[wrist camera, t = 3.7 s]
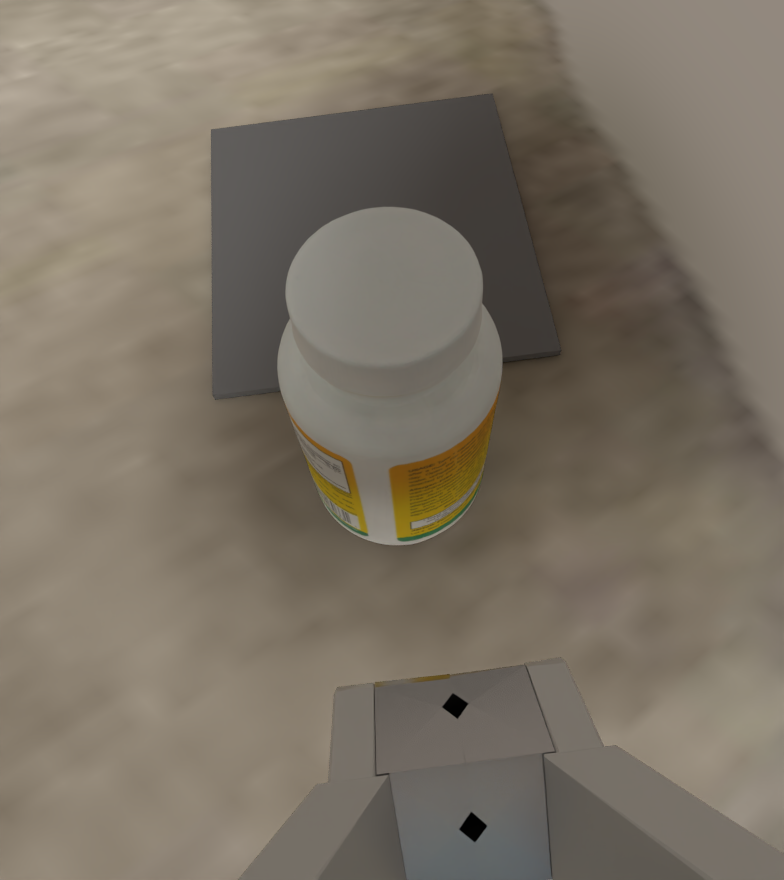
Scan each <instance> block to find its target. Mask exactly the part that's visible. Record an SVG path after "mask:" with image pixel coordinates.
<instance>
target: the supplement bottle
mask: <svg viewBox="0 0 784 880" xmlns="http://www.w3.org/2000/svg"><path fill="white" fill-rule="evenodd" d="M285 295H286V304H287V309H288V312H289V316H290V319H289V321H288V323H287V325H286V327H285V330H284V332H283V335H282V338H281V342H280V346H279V351H278V361H277V371H278V380H279V386H280V390H281V394H282V397H283V400H284V403H285V406H286V409H287V412H288V414H289V417H290V419H291V422H292V425H293V428H294V430H295V433H296V435H297V438H298V441H299V443H300V445H301V448H302V450H303V453H304V456H305V459H306V461H307V464H308V467H309V470H310V473H311V475H312V478H313V480H314V483H315V486H316V488H317V491H318V493H319V495H320V498H321V499H322V501H323V503H324V505H325V507H326V508H327V510H328V511H329V513H330V514H331V515H332V516H333V517H334V518H335V520H336V521H337V522H338V523H340V524H341V525H342V526H343V527H344V528H345V529H347V530H348V531H350V532H351V533H353V534H355V535H357V536H359V537H361V538H363V539H366V540H369V541H372V542H375V543H380V544H385V545H409V544H415V543H419V542H422V541H425V540H427V539H430V538H432V537H434V536H436V535H438V534H440V533H441V532H443V531H445V530H447V529H448V528H449V527H451V526H452V525H453V524H455V523H456V522H457V521H458V520H459V519H460V518H461V517H462V516H463V515H464V514H465V513H466V511H467V510H468V509H469V507H470V506H471V504H472V503H473V501H474V499H475V497H476V495H477V492H478V490H479V487H480V484H481V479H482V476H483V471H484V465H485V460H486V455H487V449H488V444H489V439H490V433H491V429H492V424H493V418H494V413H495V408H496V404H497V399H498V394H499V389H500V384H501V377H502V364H503V361H502V348H501V342H500V338H499V335H498V332H497V329H496V326H495V324H494V322H493V320H492V318H491V316H490V314H489V312H488V311H487V309H486V308H485V306H484V305H483V304H482V297H483V276H482V271H481V268H480V265H479V262H478V259H477V257H476V255H475V253H474V251H473V249H472V247H471V246H470V244H469V243H468V242H467V240H466V239H465V238H464V237H463V236H462V235H461V234H460V233H459V232H458V231H457V230H455V229H454V228H453V227H452V226H450V225H449V224H447V223H446V222H444V221H442V220H441V219H439V218H437V217H435V216H432V215H430V214H427V213H425V212H421V211H418V210H414V209H409V208H401V207H376V208H368V209H363V210H359V211H355V212H352V213H349V214H347V215H344V216H342V217H339V218H337V219H335V220H333V221H331V222H329V223H328V224H326V225H324V226H323V227H321V228H320V229H319V230H317V231H316V232H315V233H314V234H313V235H312V236H310V237H309V238H308V239H307V241H306V242H305V243H304V244H303V245H302V247H301V248H300V249H299V251H298V253H297V254H296V256H295V258H294V260H293V261H292V263H291V266H290V268H289V271H288V276H287V280H286V290H285Z"/></svg>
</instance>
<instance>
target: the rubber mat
mask: <svg viewBox="0 0 784 880" xmlns="http://www.w3.org/2000/svg"><path fill="white" fill-rule="evenodd" d="M211 206H212V377H213V397H214V399H215V400H216V399H223V398H231V397H239V396H247V395H254V394H262V393H270V392H277V391H281V390H280V386H279V380H278V371H277V361H278V351H279V346H280V342H281V338H282V335H283V332H284V330H285V327H286V325H287V323H288V321H289V319H290V316H289V312H288V309H287V304H286V295H285V290H286V280H287V276H288V271H289V268H290V266H291V263H292V261H293V260H294V258H295V256H296V254H297V253H298V251H299V249H300V248H301V247H302V245H303V244H304V243H305V242H306V241H307V239H308V238H309V237H310V236H312V235H313V234H314V233H315V232H316V231H317V230H319V229H320V228H321V227H323V226H324V225H326V224H328V223H329V222H331V221H333V220H335V219H337V218H339V217H342V216H344V215H347V214H349V213H352V212H355V211H359V210H363V209H368V208H376V207H401V208H409V209H414V210H418V211H421V212H425V213H427V214H430V215H432V216H435V217H437V218H439V219H441V220H442V221H444V222H446V223H447V224H449V225H450V226H452V227H453V228H454V229H455V230H457V231H458V232H459V233H460V234H461V235H462V236H463V237H464V238H465V239H466V240H467V242H468V243H469V244H470V246H471V247H472V249H473V251H474V253H475V255H476V257H477V259H478V262H479V265H480V268H481V271H482V276H483V297H482V304H483V305H484V306H485V308H486V309H487V311H488V312H489V314H490V316H491V318H492V320H493V322H494V324H495V326H496V329H497V332H498V335H499V338H500V342H501V348H502V361H503V362H508V361H516V360H524V359H531V358H539V357H547V356H555V355H560V352H561V347H560V344H559V340H558V336H557V332H556V329H555V325H554V321H553V318H552V314H551V310H550V306H549V303H548V299H547V295H546V291H545V288H544V284H543V280H542V277H541V273H540V269H539V265H538V262H537V258H536V254H535V250H534V247H533V243H532V239H531V236H530V232H529V228H528V224H527V221H526V217H525V213H524V209H523V206H522V202H521V198H520V195H519V191H518V187H517V183H516V180H515V176H514V172H513V168H512V165H511V161H510V157H509V154H508V150H507V146H506V142H505V139H504V135H503V131H502V127H501V124H500V120H499V116H498V113H497V109H496V105H495V101H494V98H493V94H484V95H477V96H469V97H461V98H453V99H445V100H438V101H430V102H422V103H414V104H406V105H399V106H391V107H383V108H375V109H368V110H360V111H352V112H344V113H336V114H329V115H321V116H313V117H305V118H297V119H290V120H282V121H274V122H266V123H259V124H251V125H243V126H235V127H227V128H220V129H212V130H211Z"/></svg>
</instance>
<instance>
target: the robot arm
mask: <svg viewBox="0 0 784 880" xmlns="http://www.w3.org/2000/svg"><path fill="white" fill-rule="evenodd" d="M552 879H553V880H784V854H783V853H782V852H780V851H779V850H777V849H776V848H774V847H773V846H771V845H769V844H768V843H766V842H765V841H763V840H762V839H760V838H759V837H757V836H756V835H754V834H752V833H751V832H749V831H748V830H746V829H745V828H743V827H742V826H740V825H739V824H737V823H735V822H734V821H732V820H731V819H729V818H728V817H726V816H725V815H723V814H722V813H720V812H719V811H717V810H715V809H714V808H712V807H711V806H709V805H708V804H706V803H705V802H703V801H702V800H700V799H698V798H697V797H695V796H694V795H692V794H691V793H689V792H688V791H686V790H685V789H683V788H681V787H680V786H678V785H677V784H675V783H674V782H672V781H671V780H669V779H668V778H666V777H664V776H663V775H661V774H660V773H658V772H657V771H655V770H654V769H652V768H651V767H649V766H647V765H646V764H644V763H643V762H641V761H640V760H638V759H637V758H635V757H634V756H632V755H630V754H629V753H627V752H626V751H624V750H623V749H621V748H620V747H618V746H616V745H614V746H605V747H604V745H603V743H602V741H601V738H600V736H599V734H598V732H597V730H596V727H595V725H594V723H593V721H592V718H591V716H590V714H589V712H588V709H587V707H586V705H585V703H584V701H583V698H582V696H581V694H580V692H579V689H578V687H577V685H576V683H575V681H574V678H573V676H572V674H571V672H570V669H569V667H568V665H567V663H566V661H565V660H564V659H562V658H561V657H560V658H554V659H547V660H541V661H535V662H529V663H524V665H517V666H510V667H503V668H495V669H488V670H481V671H473V672H466V673H459V674H451V675H450V674H447V675H438V676H428V677H419V678H410V679H401V680H392V681H382V682H375V684H373V683H367V684H359V685H351V686H343V687H337V688H336V691H335V693H334V699H333V714H332V729H331V744H330V760H329V775H328V783H323V784H317V785H315V787H314V788H313V789H312V790H311V791H310V793H309V794H308V795H307V796H306V797H305V799H304V800H303V801H302V802H301V804H300V805H299V806H298V807H297V808H296V810H295V811H294V812H293V813H292V815H291V816H290V817H289V818H288V819H287V821H286V822H285V823H284V824H283V825H282V827H281V828H280V829H279V830H278V832H277V833H276V834H275V835H274V836H273V838H272V839H271V840H270V841H269V843H268V844H267V845H266V846H265V847H264V849H263V850H262V851H261V852H260V853H259V855H258V856H257V857H256V858H255V860H254V861H253V862H252V863H251V864H250V866H249V867H248V868H247V869H246V871H245V872H244V873H243V874H242V875H241V877H240V878H239V879H238V880H552Z"/></svg>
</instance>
